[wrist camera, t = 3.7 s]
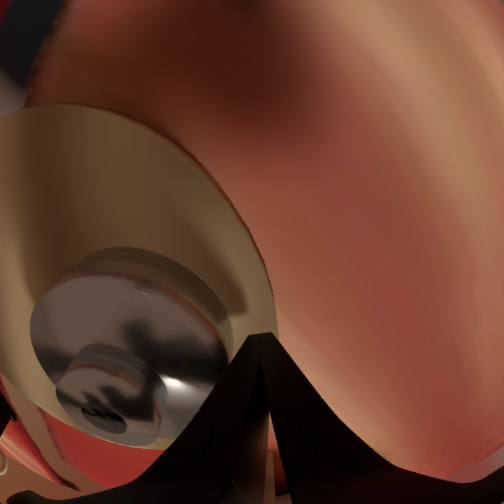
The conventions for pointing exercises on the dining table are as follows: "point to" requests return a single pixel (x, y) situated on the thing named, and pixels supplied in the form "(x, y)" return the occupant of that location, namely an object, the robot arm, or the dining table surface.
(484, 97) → the dining table surface
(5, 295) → the tan piece
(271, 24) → the dining table surface
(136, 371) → the cover
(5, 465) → the teacup with lid
